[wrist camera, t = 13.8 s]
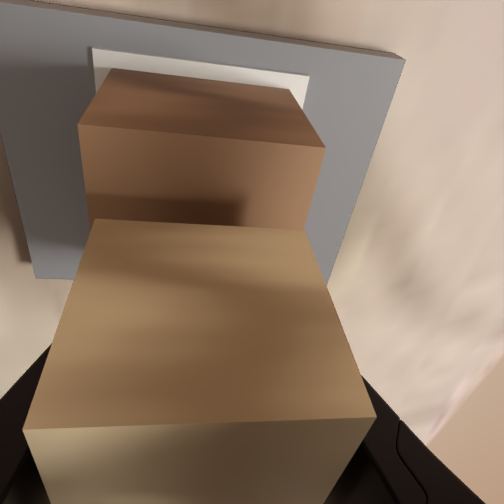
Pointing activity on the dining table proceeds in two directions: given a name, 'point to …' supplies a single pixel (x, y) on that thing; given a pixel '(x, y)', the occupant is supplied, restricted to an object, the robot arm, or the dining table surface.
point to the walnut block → (197, 152)
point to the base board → (180, 64)
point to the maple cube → (197, 372)
